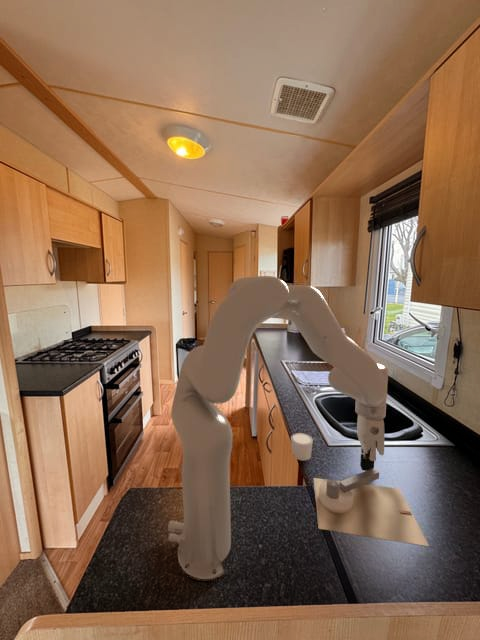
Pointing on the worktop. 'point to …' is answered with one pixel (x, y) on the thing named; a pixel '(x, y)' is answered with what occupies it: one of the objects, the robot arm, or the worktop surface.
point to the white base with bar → (343, 491)
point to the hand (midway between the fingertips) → (366, 468)
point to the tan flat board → (372, 515)
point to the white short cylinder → (301, 446)
